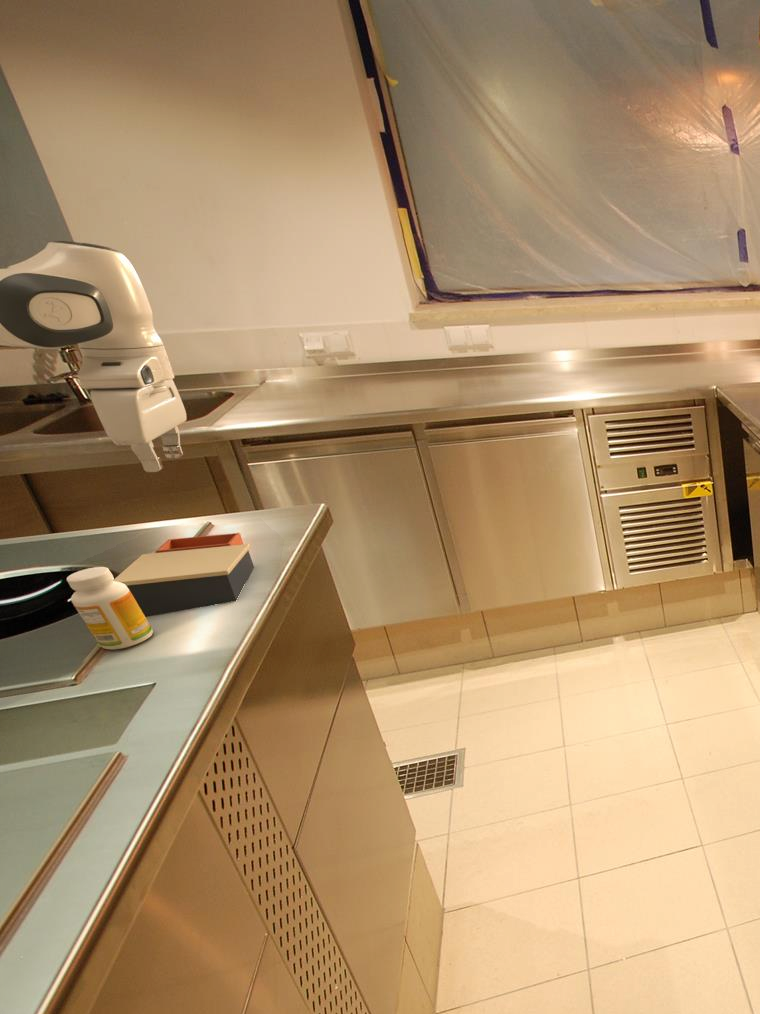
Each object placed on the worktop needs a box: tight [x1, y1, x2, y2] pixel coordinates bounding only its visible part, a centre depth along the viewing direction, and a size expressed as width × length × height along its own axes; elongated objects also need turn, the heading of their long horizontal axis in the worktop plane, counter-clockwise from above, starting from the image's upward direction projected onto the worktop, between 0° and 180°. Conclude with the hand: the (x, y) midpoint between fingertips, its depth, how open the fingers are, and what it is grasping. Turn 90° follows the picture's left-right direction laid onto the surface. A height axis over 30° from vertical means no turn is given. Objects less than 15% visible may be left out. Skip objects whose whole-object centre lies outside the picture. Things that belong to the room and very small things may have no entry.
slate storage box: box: [113, 543, 255, 618], centre depth 121 cm, size 13×13×6 cm
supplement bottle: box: [66, 566, 154, 650], centre depth 107 cm, size 5×5×10 cm
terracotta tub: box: [155, 532, 244, 553], centre depth 131 cm, size 9×6×5 cm, turn 116°
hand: (165, 464), depth 125 cm, fingers open, 8 cm apart
